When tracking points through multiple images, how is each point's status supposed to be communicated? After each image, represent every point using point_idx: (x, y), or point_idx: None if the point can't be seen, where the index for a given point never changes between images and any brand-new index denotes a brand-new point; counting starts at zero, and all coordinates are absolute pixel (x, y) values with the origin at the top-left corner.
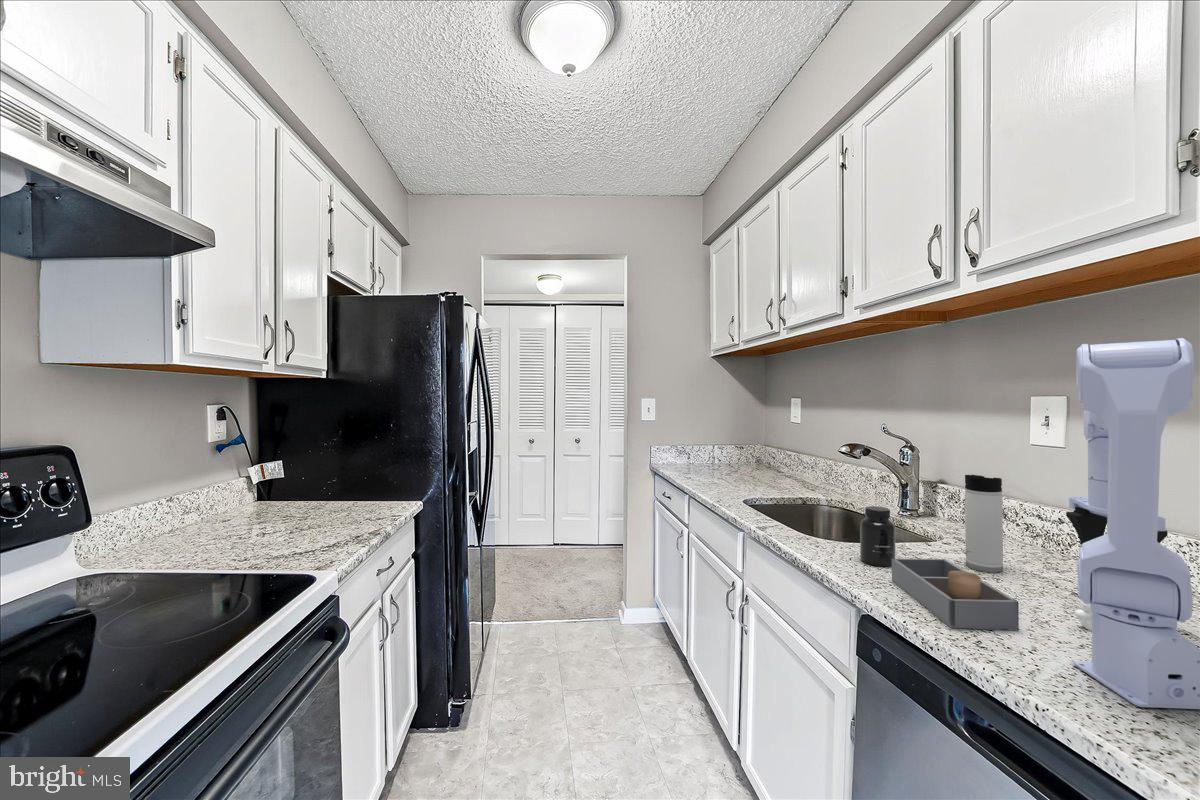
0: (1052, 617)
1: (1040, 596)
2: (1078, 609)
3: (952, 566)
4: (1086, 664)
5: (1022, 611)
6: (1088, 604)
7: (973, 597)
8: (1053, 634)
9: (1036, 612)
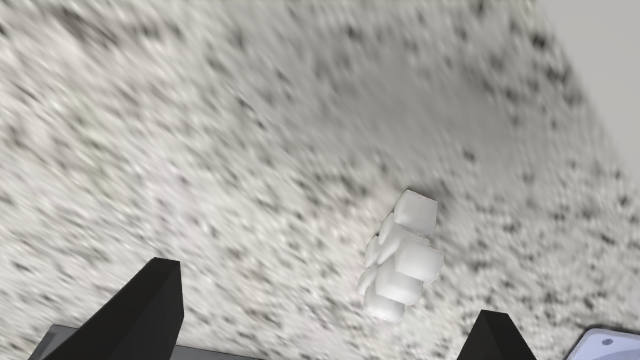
0: (305, 268)
1: (131, 174)
2: (363, 293)
3: None
4: None
5: (262, 302)
6: (398, 320)
7: None
8: (401, 338)
9: (269, 278)
